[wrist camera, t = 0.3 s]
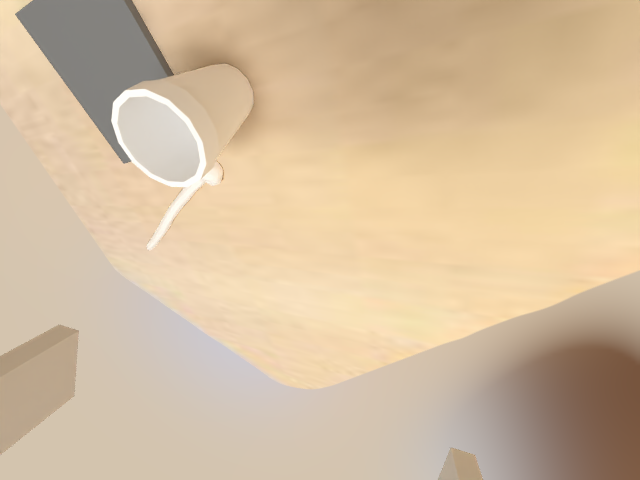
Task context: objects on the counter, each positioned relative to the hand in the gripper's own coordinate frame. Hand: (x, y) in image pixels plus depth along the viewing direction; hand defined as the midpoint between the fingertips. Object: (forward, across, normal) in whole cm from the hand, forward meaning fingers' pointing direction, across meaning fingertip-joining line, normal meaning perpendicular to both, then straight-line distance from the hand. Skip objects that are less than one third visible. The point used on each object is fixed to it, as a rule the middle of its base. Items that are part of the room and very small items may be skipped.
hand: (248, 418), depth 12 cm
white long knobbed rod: (+44, -26, -6) cm, 51 cm away
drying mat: (+34, -32, +11) cm, 48 cm away
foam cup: (+33, -16, +12) cm, 39 cm away
